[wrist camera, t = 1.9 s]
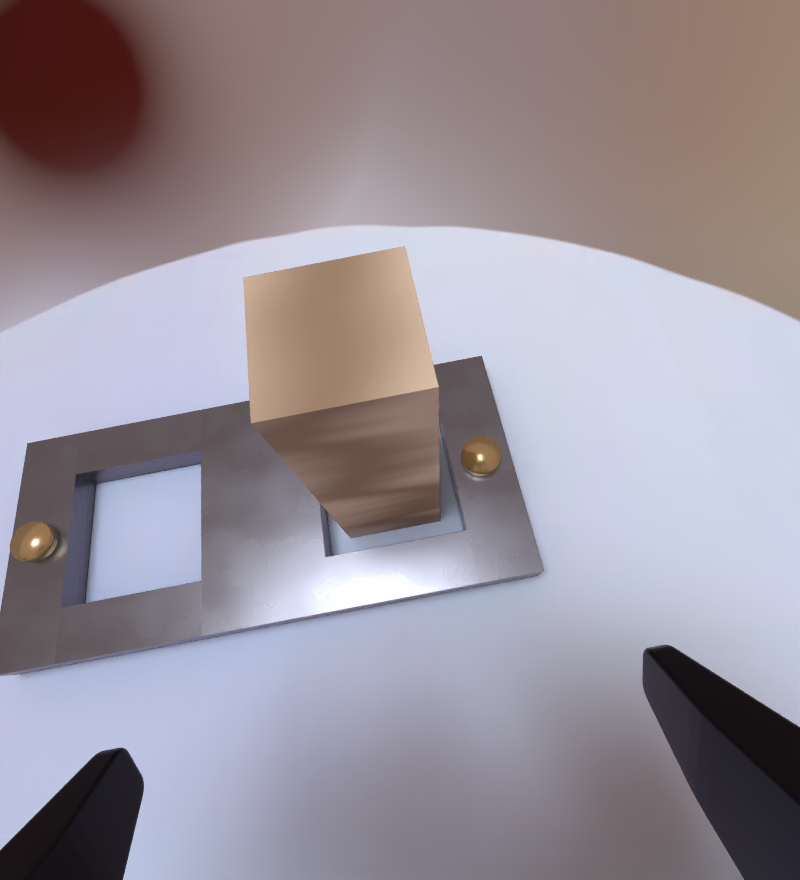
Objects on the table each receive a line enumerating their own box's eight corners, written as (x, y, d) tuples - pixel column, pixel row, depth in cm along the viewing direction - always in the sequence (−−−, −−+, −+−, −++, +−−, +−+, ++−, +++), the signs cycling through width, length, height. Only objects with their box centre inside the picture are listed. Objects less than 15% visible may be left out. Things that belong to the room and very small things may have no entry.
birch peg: (422, 438, 25) (404, 245, 13) (440, 520, 23) (438, 386, 11) (339, 454, 25) (243, 277, 13) (350, 538, 23) (250, 423, 11)
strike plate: (479, 371, 26) (482, 349, 24) (537, 575, 21) (547, 568, 19) (49, 454, 26) (17, 438, 24) (19, 674, 22) (-23, 677, 20)
